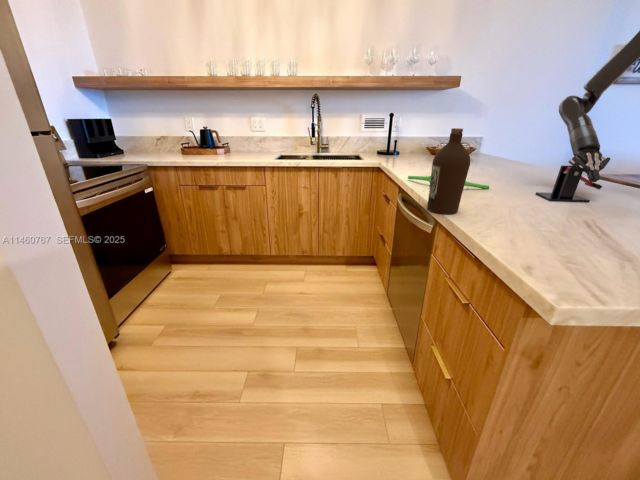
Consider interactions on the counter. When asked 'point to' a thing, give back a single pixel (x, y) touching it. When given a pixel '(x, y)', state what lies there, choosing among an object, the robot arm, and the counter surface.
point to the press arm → (586, 181)
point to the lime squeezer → (428, 178)
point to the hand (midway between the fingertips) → (595, 181)
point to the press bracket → (565, 186)
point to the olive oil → (448, 175)
